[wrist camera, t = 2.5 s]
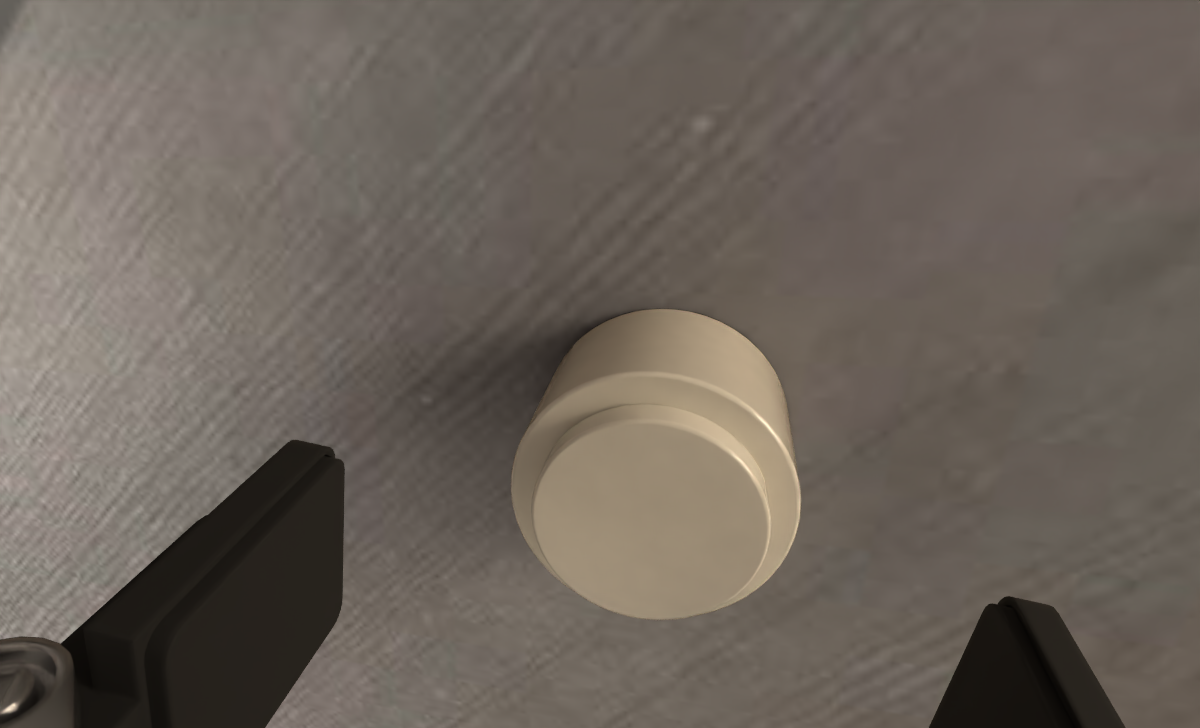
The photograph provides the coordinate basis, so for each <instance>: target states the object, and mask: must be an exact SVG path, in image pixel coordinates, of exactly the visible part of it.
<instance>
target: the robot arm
mask: <svg viewBox="0 0 1200 728" xmlns="http://www.w3.org/2000/svg"><path fill="white" fill-rule="evenodd" d="M344 474H345V469H344V463H343V461H342V460H340V459H335V454H334V451H333V449H332V448H330V447H327V446H322V445H318V444H313V443H308V442H304V441H299V440H291V441H290V442H288V443H287V444H286V445H285V446H283V447H282V448H281V449H280V450H279V451H278V452H277V453H276V454H275V455H274V456H272V457H271V458H270V459H269V460H268V461H267V462H266V463H265V464H264V465H262V466H261V467H260V468H259V469H258V470H257V471H256V472H255V473H254V474H253V475H251V476H250V477H249V478H248V479H247V480H246V481H245V482H244V483H243V484H241V485H240V486H239V487H238V488H237V489H236V490H235V491H234V492H233V493H232V494H230V495H229V496H228V497H227V498H226V499H225V500H224V501H223V502H222V503H221V504H219V505H218V506H217V507H216V508H215V509H214V510H213V511H212V512H211V513H209V514H208V515H206V516H204V517H203V518H201V519H200V520H198V521H197V522H196V523H195V524H193V525H192V526H191V527H190V528H189V529H188V530H187V531H186V532H185V533H183V534H182V535H181V536H180V537H179V538H178V539H177V540H176V541H175V542H173V543H172V544H171V545H170V546H169V547H168V548H167V549H166V550H165V551H163V552H162V553H161V554H160V555H159V556H158V557H157V558H156V559H155V560H153V561H152V562H151V563H150V564H149V565H148V566H147V567H146V568H145V569H143V570H142V571H141V572H140V573H139V574H138V575H137V576H136V577H135V578H133V579H132V580H131V581H130V582H129V583H128V584H127V585H126V586H125V587H123V588H122V589H121V590H120V591H119V592H118V593H117V594H116V595H115V596H113V597H112V598H111V599H110V600H109V601H108V602H107V603H106V604H105V605H103V606H102V607H101V608H100V609H99V610H98V611H97V612H96V613H95V614H93V615H92V616H91V617H90V618H89V619H88V620H87V621H86V622H85V623H83V624H82V625H81V626H80V627H79V628H78V629H77V630H76V631H75V632H73V633H72V634H71V635H70V636H69V637H68V638H67V639H66V640H65V641H63V642H62V643H61V644H60V643H57V642H54V641H51V640H48V639H45V638H39V637H15V638H8V639H1V640H0V728H265V727H266V725H267V724H268V722H269V721H270V719H271V718H272V717H273V715H274V714H275V712H276V711H277V709H278V708H279V706H280V705H281V703H282V702H283V700H284V699H285V697H286V696H287V694H288V693H289V691H290V690H291V688H292V687H293V685H294V684H295V683H296V681H297V680H298V678H299V677H300V675H301V674H302V672H303V671H304V669H305V668H306V666H307V665H308V663H309V662H310V660H311V659H312V657H313V656H314V654H315V653H316V651H317V650H318V648H319V647H320V646H321V644H322V643H323V641H324V640H325V638H326V637H327V635H328V634H329V632H330V631H331V629H332V628H333V626H334V624H335V623H336V621H337V618H338V616H339V613H340V610H341V606H342V592H343V533H344ZM929 728H1125V726H1124V724H1123V723H1122V721H1121V719H1120V718H1119V716H1118V714H1117V712H1116V711H1115V709H1114V707H1113V706H1112V704H1111V702H1110V700H1109V699H1108V697H1107V695H1106V694H1105V692H1104V690H1103V688H1102V687H1101V685H1100V683H1099V682H1098V680H1097V678H1096V677H1095V675H1094V673H1093V671H1092V670H1091V668H1090V666H1089V665H1088V663H1087V661H1086V659H1085V658H1084V656H1083V654H1082V653H1081V651H1080V649H1079V648H1078V646H1077V644H1076V642H1075V641H1074V639H1073V637H1072V636H1071V634H1070V632H1069V630H1068V629H1067V627H1066V625H1065V624H1064V622H1063V620H1062V618H1061V617H1060V615H1059V613H1058V612H1057V611H1056V610H1055V608H1054V607H1052V606H1050V605H1046V604H1042V603H1037V602H1032V601H1028V600H1023V599H1019V598H1014V597H1010V596H1008V597H1004V598H1003V599H1001V600H1000V601H999V603H998V605H997V604H989V605H987V606H986V607H985V609H984V611H983V612H982V615H981V617H980V619H979V621H978V623H977V625H976V628H975V630H974V632H973V634H972V636H971V638H970V640H969V643H968V645H967V647H966V649H965V651H964V653H963V655H962V658H961V660H960V662H959V664H958V666H957V668H956V671H955V673H954V675H953V677H952V679H951V681H950V683H949V686H948V688H947V690H946V692H945V694H944V696H943V699H942V701H941V703H940V705H939V707H938V709H937V711H936V714H935V716H934V718H933V720H932V722H931V724H930V726H929Z"/></svg>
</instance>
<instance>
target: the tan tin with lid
mask: <svg viewBox="0 0 1200 728" xmlns="http://www.w3.org/2000/svg"><path fill="white" fill-rule="evenodd" d="M511 495H512V504H513V508H514V512H515V516H516V520H517V523H518V525H519V527H520V530H521V532H522V535H523V537H524V538H525V540H526V542H527V544H528V545H529V547H530V549H531V550H532V552H533V553H534V554H535V556H536V557H537V558H538V560H539V561H540V562H541V563H542V565H543V566H544V567H545V568H546V569H547V570H548V571H549V572H550V573H551V574H552V575H553V576H554V577H556V578H557V579H558V580H559V581H560V582H562V583H563V584H564V585H565V586H567V587H568V588H570V589H571V590H573V591H574V592H576V593H577V594H579V595H580V596H582V597H583V598H585V599H586V600H588V601H590V602H592V603H594V604H595V605H597V606H599V607H601V608H604V609H607V610H609V611H612V612H614V613H618V614H621V615H625V616H628V617H634V618H639V619H648V620H674V619H681V618H688V617H692V616H697V615H701V614H705V613H709V612H713V611H716V610H719V609H721V608H724V607H727V606H729V605H731V604H733V603H735V602H737V601H739V600H741V599H743V598H745V597H746V596H748V595H749V594H751V593H752V592H753V591H755V590H756V589H758V588H759V587H760V586H761V585H762V584H763V583H764V582H766V581H767V580H768V579H769V578H770V577H771V576H772V575H773V573H774V572H775V571H776V570H777V569H778V567H779V566H780V565H781V563H782V562H783V560H784V559H785V557H786V555H787V554H788V552H789V550H790V548H791V546H792V544H793V541H794V539H795V536H796V534H797V529H798V525H799V521H800V513H801V493H800V483H799V477H798V471H797V465H796V458H795V452H794V446H793V440H792V433H791V427H790V421H789V415H788V409H787V403H786V399H785V395H784V391H783V388H782V386H781V384H780V381H779V379H778V376H777V375H776V373H775V371H774V370H773V368H772V366H771V364H770V363H769V362H768V360H767V359H766V358H765V357H764V355H763V354H762V353H761V352H760V350H759V349H757V348H756V347H755V346H754V345H753V344H752V343H751V342H750V341H749V340H748V339H747V338H745V337H744V336H743V335H741V334H740V333H738V332H737V331H736V330H734V329H732V328H731V327H729V326H727V325H725V324H723V323H721V322H719V321H717V320H714V319H712V318H709V317H707V316H704V315H700V314H696V313H693V312H689V311H681V310H674V309H651V310H642V311H636V312H632V313H628V314H624V315H621V316H618V317H616V318H613V319H611V320H608V321H606V322H604V323H602V324H601V325H599V326H597V327H595V328H594V329H592V330H591V331H590V332H588V333H587V334H585V335H584V336H583V337H581V338H580V339H579V340H578V341H577V342H576V343H575V344H574V345H573V346H572V347H571V349H570V350H569V351H568V352H567V354H566V355H565V356H564V358H563V359H562V361H561V363H560V364H559V366H558V368H557V370H556V372H555V374H554V376H553V378H552V380H551V382H550V384H549V386H548V387H547V389H546V391H545V393H544V395H543V397H542V399H541V401H540V403H539V405H538V407H537V409H536V411H535V413H534V415H533V417H532V419H531V421H530V423H529V425H528V427H527V429H526V431H525V433H524V435H523V437H522V439H521V441H520V443H519V446H518V449H517V452H516V454H515V457H514V462H513V467H512V472H511Z"/></svg>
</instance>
